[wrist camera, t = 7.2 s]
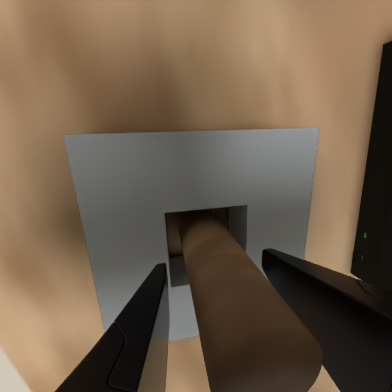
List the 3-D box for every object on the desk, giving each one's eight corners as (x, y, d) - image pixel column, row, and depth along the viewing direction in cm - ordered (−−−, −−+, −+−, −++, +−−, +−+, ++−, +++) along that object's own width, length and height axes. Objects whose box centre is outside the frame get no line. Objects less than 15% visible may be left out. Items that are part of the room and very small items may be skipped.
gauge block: (282, 132, 12) (319, 127, 9) (271, 284, 15) (296, 315, 12) (90, 138, 10) (63, 134, 8) (120, 310, 13) (109, 354, 11)
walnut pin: (217, 204, 13) (330, 318, 4) (217, 241, 13) (315, 402, 5) (177, 208, 12) (210, 343, 4) (179, 246, 13) (212, 433, 4)
